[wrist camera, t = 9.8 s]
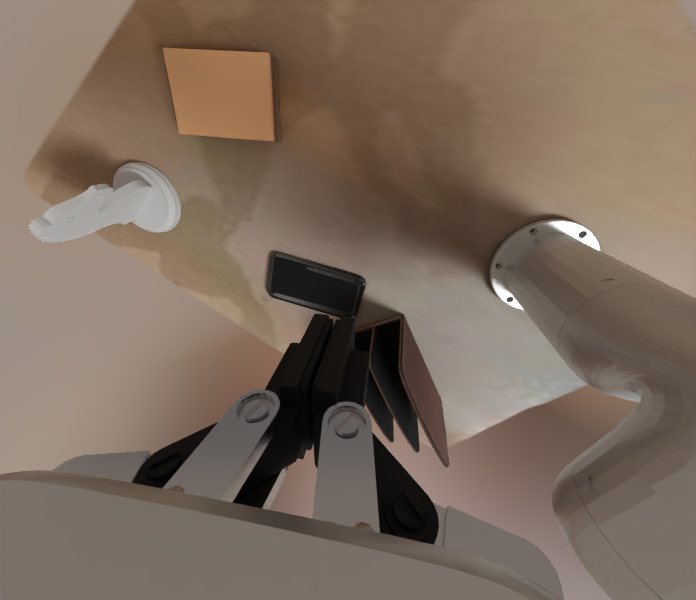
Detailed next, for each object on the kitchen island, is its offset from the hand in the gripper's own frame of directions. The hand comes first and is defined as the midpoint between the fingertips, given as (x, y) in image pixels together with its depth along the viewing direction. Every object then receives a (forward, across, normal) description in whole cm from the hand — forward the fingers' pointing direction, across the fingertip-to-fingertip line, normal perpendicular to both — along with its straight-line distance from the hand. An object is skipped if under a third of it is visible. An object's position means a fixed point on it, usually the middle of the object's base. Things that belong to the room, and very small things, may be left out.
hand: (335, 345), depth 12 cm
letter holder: (+30, -5, +26) cm, 40 cm away
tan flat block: (+28, +13, -12) cm, 33 cm away
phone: (+30, +9, +12) cm, 33 cm away
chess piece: (+29, +34, 0) cm, 45 cm away
